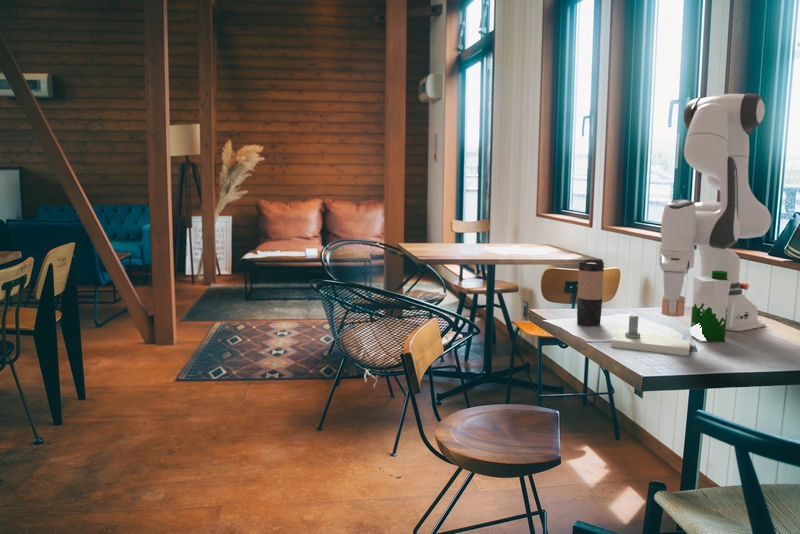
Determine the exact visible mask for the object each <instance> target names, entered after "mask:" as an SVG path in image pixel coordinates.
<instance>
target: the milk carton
mask: <svg viewBox="0 0 800 534" xmlns="http://www.w3.org/2000/svg"><path fill="white" fill-rule="evenodd" d="M692 281H693V287H692V292H693V293H692V304H691V316H690V317H691V321H690V328H691V327H692V326H694V325H696V324H698V323H700V324H699V325H701V327H702V334H703V335H704V337H705V338H706V340H707V341H708V342H707V343H709V342H710V343H725V342H726V332H727V330H726V319H727V306H728V295H729V290H730V286H731V281H730V280H728V279H727V272H725V271H712V277H706V276H702V277H700V276H693V280H692ZM701 327H700V328H701Z"/></svg>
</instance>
